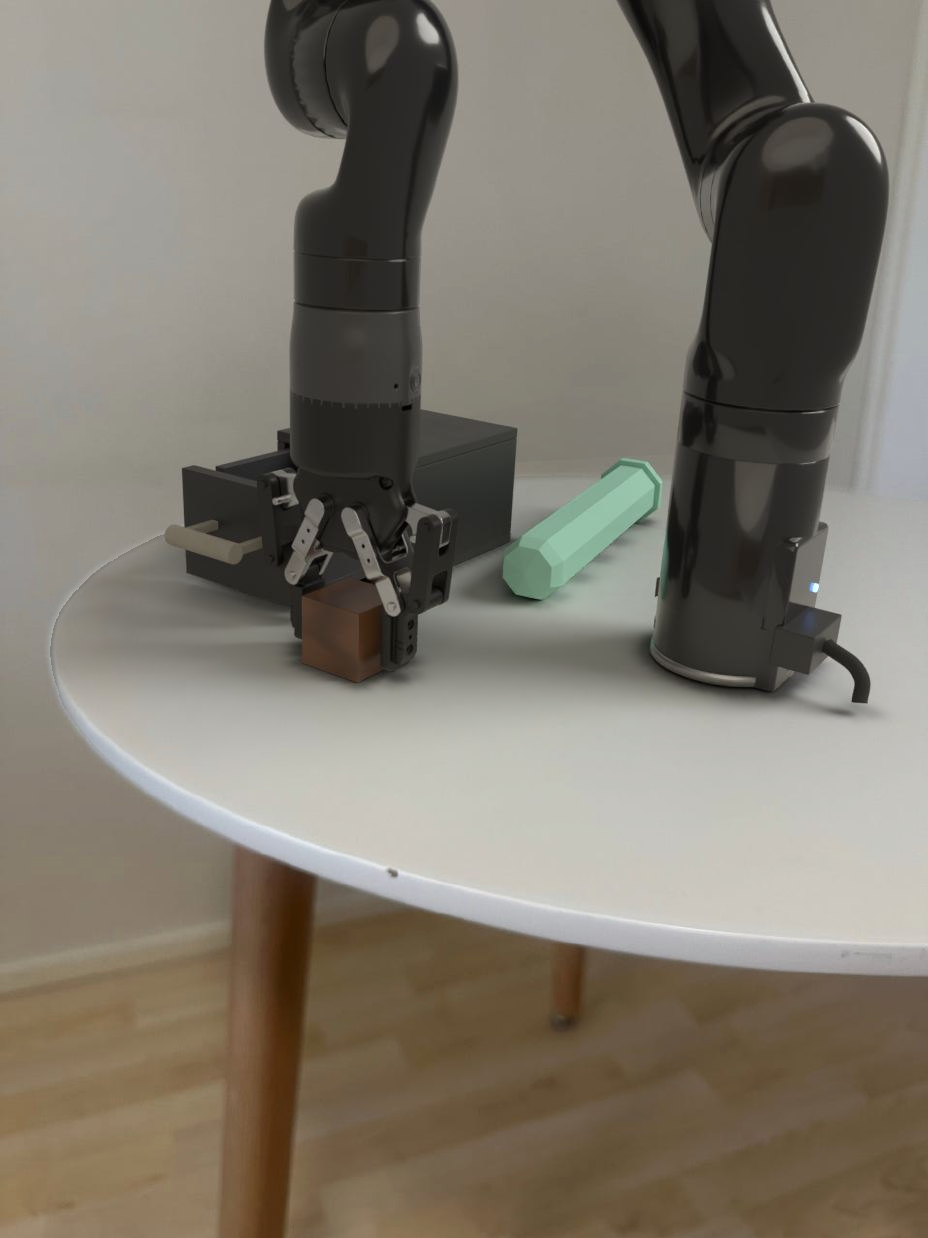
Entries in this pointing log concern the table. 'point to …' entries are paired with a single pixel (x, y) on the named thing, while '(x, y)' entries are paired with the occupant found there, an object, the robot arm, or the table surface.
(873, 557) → the table surface
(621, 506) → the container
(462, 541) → the small storage cabinet
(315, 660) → the block
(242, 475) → the drawer
